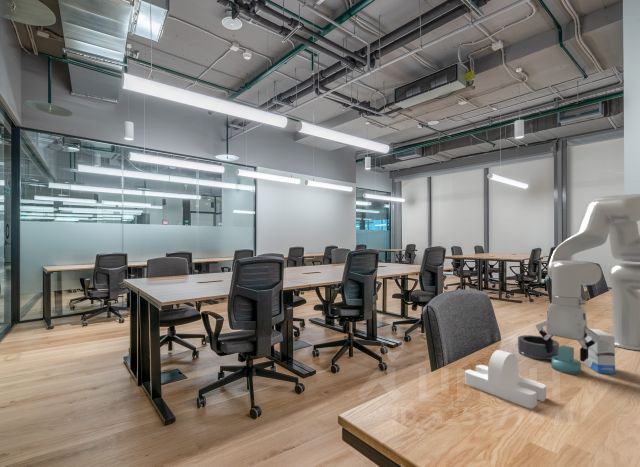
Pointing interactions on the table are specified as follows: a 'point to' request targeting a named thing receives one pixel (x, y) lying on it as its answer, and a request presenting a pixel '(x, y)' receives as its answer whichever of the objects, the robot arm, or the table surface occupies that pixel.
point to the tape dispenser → (505, 380)
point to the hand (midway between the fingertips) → (565, 356)
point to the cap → (566, 361)
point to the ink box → (601, 353)
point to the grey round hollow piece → (536, 347)
